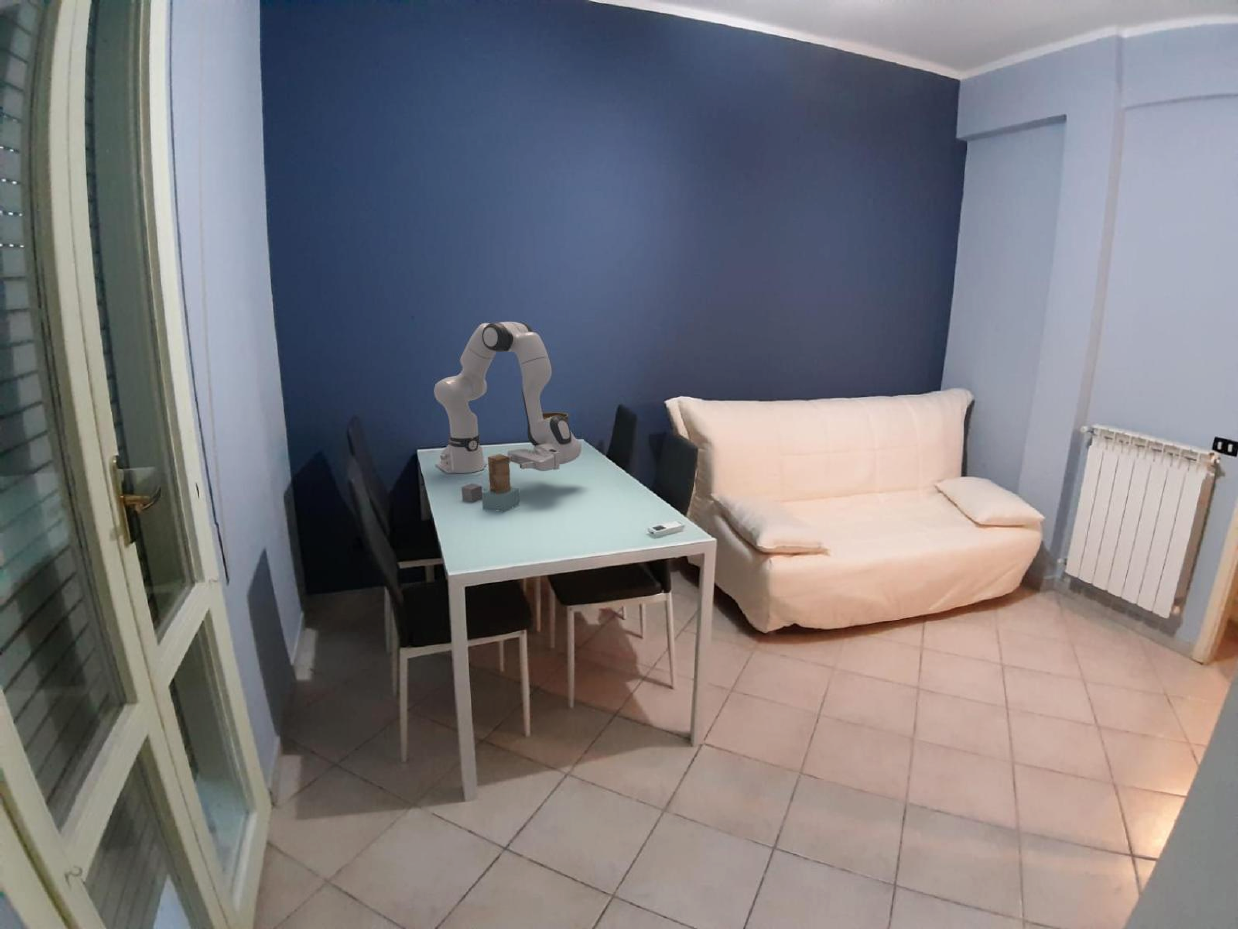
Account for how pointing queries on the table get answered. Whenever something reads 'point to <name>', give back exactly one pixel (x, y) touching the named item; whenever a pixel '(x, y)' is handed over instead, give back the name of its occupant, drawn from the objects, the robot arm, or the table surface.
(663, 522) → the table surface
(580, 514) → the table surface
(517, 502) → the teal base block
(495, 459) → the walnut block
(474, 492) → the charcoal cube
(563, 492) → the table surface
